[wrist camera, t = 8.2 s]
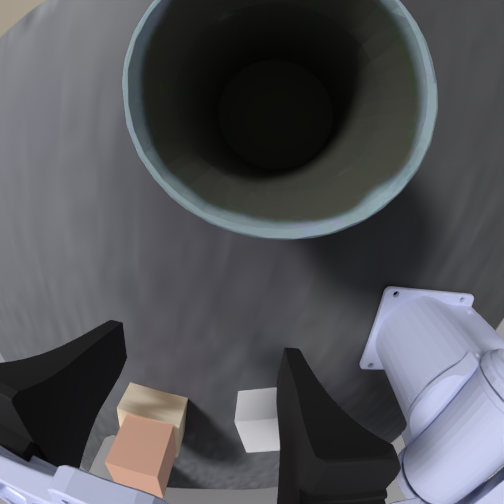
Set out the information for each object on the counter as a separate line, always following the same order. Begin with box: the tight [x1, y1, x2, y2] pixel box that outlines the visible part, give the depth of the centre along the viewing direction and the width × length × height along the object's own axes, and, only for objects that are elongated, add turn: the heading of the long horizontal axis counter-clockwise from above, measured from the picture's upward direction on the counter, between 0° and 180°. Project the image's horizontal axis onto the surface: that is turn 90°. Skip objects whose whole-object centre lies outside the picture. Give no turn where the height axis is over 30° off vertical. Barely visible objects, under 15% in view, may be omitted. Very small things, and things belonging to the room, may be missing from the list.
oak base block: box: [117, 382, 188, 458], centre depth 27 cm, size 6×6×4 cm
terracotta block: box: [105, 414, 177, 498], centre depth 22 cm, size 4×4×6 cm
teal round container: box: [122, 0, 438, 240], centre depth 13 cm, size 10×10×12 cm
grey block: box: [235, 387, 280, 453], centre depth 25 cm, size 5×5×4 cm
